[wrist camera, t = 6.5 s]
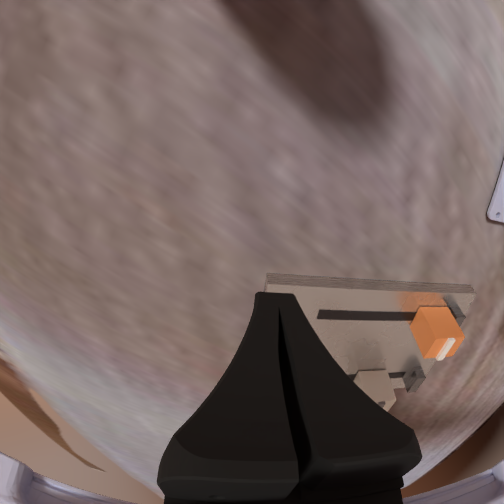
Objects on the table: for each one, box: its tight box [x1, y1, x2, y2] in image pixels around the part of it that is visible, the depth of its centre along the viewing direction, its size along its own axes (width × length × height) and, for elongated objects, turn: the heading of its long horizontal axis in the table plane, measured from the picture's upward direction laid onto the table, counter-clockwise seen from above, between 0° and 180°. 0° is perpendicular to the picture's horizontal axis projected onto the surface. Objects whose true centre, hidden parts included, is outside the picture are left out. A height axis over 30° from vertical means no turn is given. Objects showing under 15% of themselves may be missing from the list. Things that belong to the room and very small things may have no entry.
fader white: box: [354, 370, 396, 412], centre depth 26 cm, size 3×2×4 cm
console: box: [264, 273, 476, 393], centre depth 25 cm, size 18×13×3 cm
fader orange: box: [410, 307, 465, 360], centre depth 22 cm, size 3×2×4 cm
